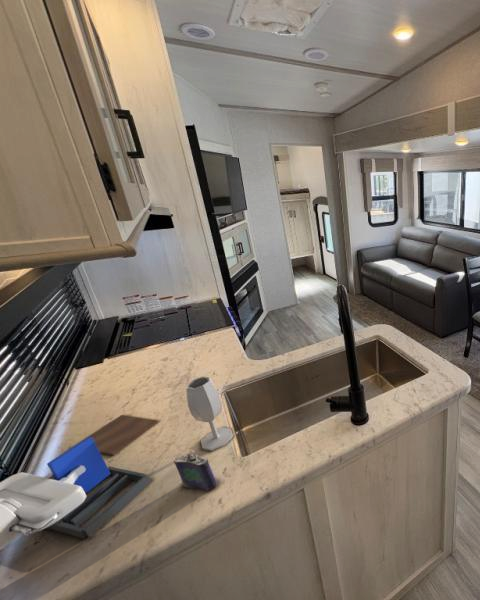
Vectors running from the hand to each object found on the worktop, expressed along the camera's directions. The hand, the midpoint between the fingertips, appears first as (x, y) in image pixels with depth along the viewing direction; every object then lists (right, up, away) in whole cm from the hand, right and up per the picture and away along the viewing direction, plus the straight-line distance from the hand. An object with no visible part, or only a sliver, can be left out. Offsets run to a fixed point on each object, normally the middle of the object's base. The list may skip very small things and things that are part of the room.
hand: (78, 466), depth 72 cm
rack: (+1, -11, +4) cm, 12 cm away
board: (-15, -4, +27) cm, 31 cm away
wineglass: (+20, -4, +22) cm, 30 cm away
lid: (0, -7, +2) cm, 7 cm away
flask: (+24, -9, +7) cm, 27 cm away
